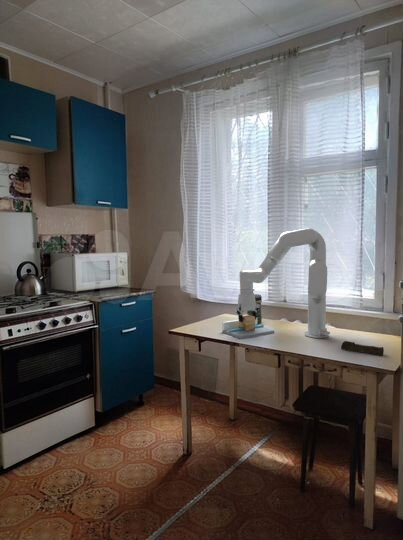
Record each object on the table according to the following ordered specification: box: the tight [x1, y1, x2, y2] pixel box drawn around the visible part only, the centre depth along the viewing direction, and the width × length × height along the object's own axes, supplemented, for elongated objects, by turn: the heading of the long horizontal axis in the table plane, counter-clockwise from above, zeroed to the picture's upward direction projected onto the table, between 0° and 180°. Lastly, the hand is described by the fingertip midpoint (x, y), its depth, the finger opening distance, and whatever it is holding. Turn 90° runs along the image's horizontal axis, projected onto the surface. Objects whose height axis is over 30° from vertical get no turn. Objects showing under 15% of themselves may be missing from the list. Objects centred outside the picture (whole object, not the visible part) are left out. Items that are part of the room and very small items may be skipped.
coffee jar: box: [246, 293, 263, 325], centre depth 249 cm, size 10×8×19 cm
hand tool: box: [340, 340, 385, 357], centre depth 184 cm, size 19×4×5 cm, turn 54°
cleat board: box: [221, 318, 275, 340], centre depth 225 cm, size 18×24×6 cm
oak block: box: [239, 313, 255, 332], centre depth 226 cm, size 8×6×8 cm
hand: (247, 320), depth 226 cm, fingers open, 9 cm apart
